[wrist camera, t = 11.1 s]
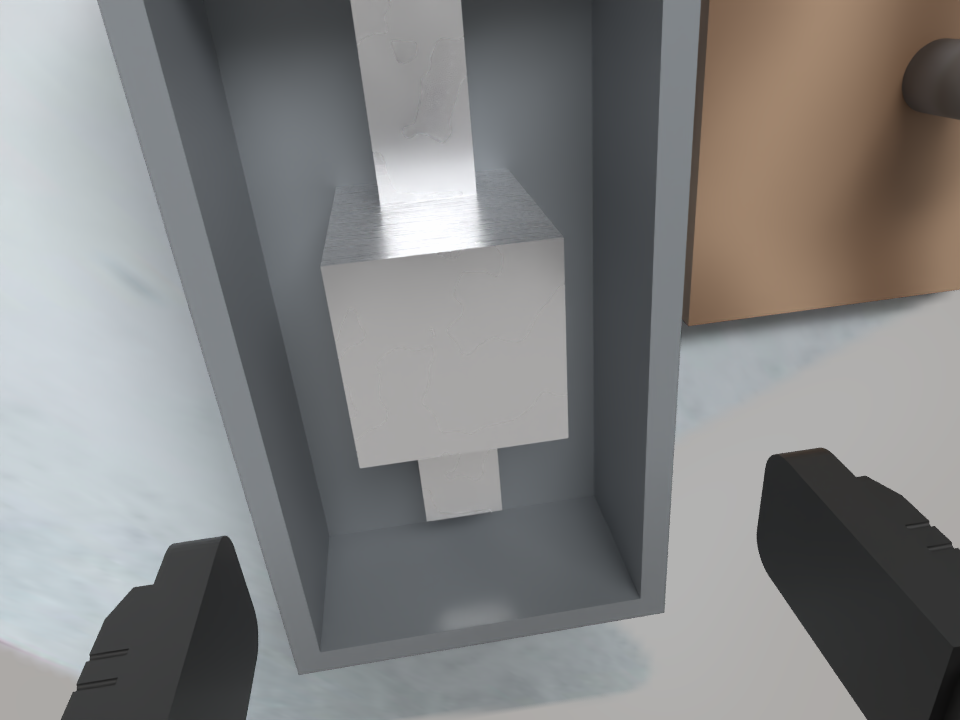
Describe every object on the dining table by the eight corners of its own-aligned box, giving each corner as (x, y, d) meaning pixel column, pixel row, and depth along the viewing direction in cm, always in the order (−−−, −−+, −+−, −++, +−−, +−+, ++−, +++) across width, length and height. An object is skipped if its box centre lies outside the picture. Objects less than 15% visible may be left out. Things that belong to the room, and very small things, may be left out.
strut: (297, -32, 17) (258, -50, 11) (494, -48, 18) (556, -75, 12) (387, 481, 25) (391, 633, 19) (524, 460, 25) (572, 603, 19)
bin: (140, -149, 17) (31, -220, 11) (613, -182, 18) (716, -262, 12) (313, 541, 27) (298, 675, 21) (608, 495, 28) (664, 612, 22)
